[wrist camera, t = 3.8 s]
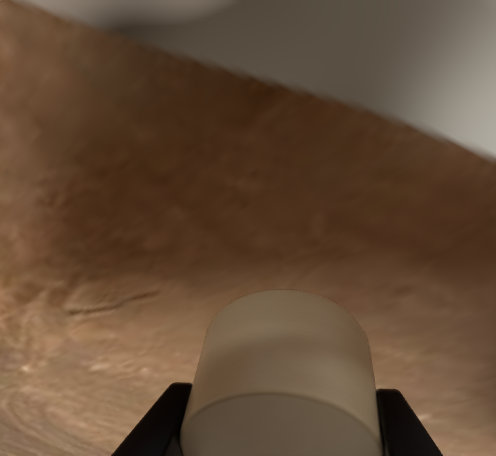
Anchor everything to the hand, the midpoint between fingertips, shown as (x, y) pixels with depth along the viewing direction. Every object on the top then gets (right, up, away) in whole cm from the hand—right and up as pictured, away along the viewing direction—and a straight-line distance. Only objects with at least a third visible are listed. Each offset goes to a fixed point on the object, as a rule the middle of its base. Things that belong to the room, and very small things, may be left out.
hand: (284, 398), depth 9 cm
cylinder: (0, +1, +1) cm, 1 cm away
